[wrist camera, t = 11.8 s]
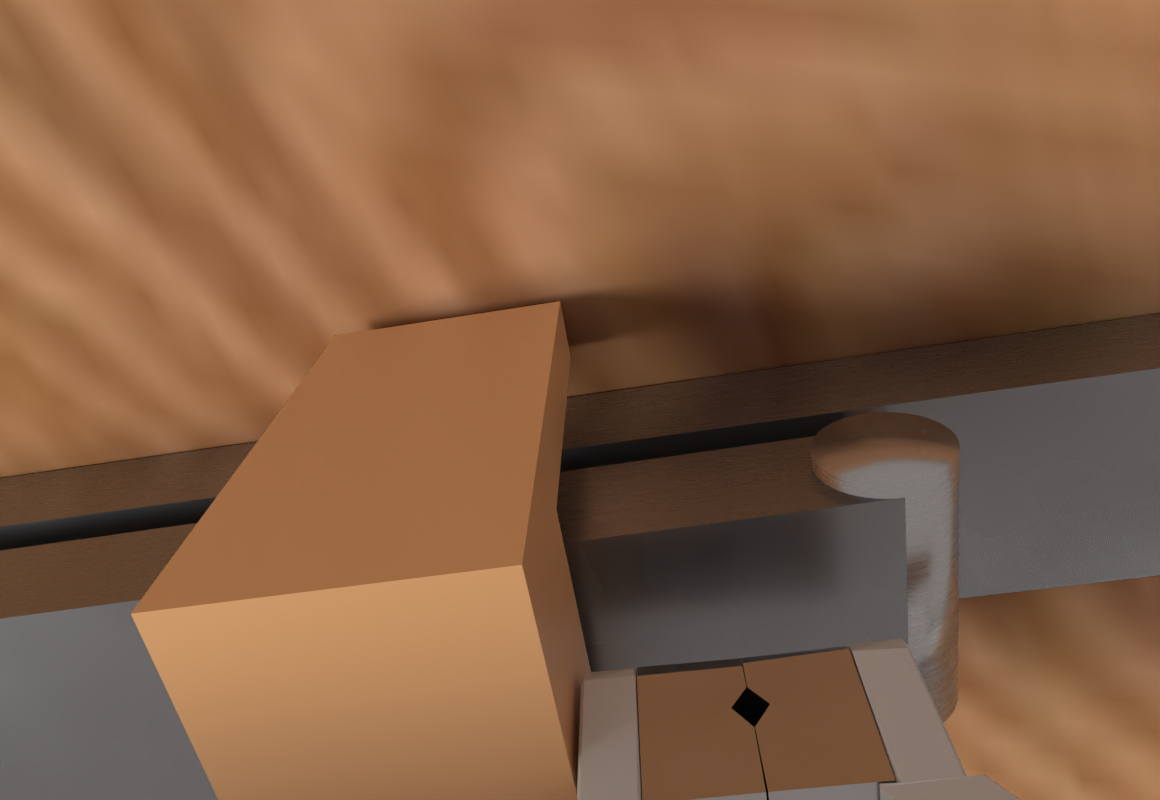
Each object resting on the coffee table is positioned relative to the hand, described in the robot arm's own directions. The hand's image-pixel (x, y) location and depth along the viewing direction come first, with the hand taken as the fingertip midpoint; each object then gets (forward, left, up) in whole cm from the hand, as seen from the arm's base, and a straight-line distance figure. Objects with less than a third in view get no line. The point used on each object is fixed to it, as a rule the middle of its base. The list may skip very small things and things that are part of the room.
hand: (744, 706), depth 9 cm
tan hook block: (+3, 0, -5) cm, 6 cm away
